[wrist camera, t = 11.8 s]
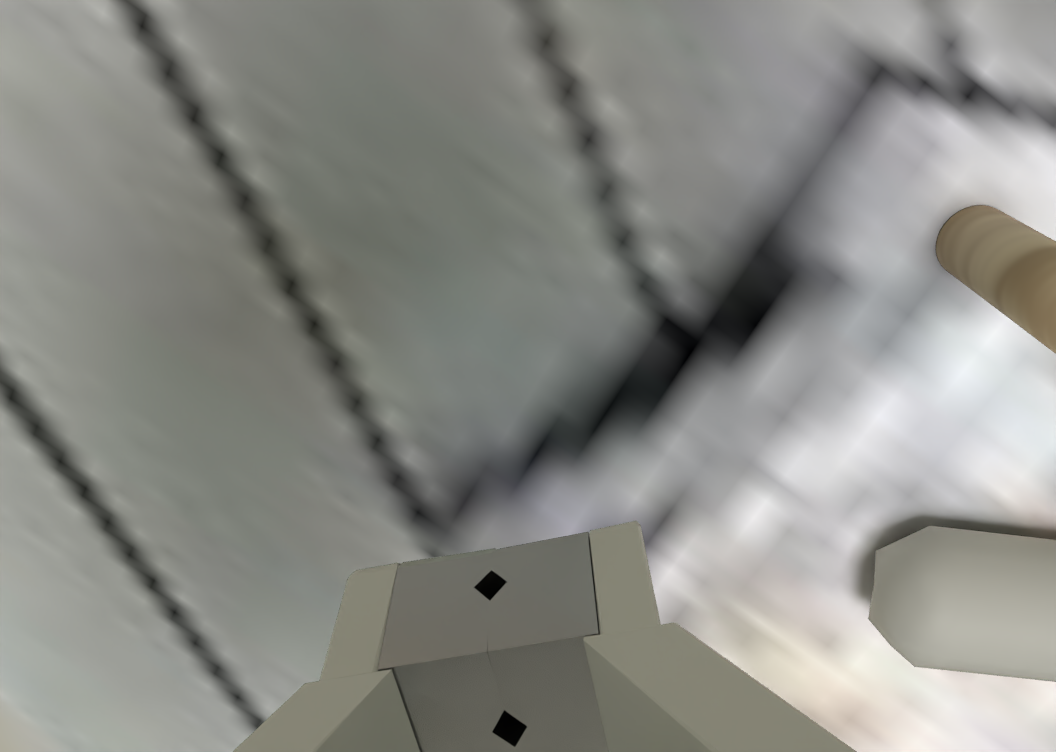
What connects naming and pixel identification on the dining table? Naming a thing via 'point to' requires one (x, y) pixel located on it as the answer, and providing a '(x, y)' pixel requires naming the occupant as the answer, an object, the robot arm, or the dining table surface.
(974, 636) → the tube
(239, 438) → the dining table surface
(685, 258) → the dining table surface
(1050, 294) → the post
